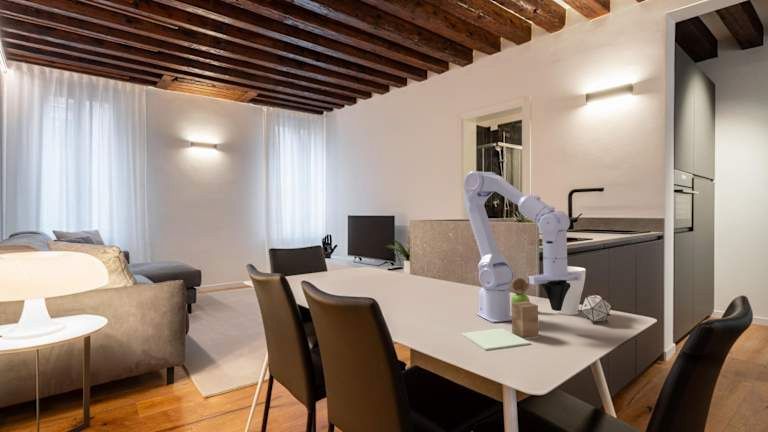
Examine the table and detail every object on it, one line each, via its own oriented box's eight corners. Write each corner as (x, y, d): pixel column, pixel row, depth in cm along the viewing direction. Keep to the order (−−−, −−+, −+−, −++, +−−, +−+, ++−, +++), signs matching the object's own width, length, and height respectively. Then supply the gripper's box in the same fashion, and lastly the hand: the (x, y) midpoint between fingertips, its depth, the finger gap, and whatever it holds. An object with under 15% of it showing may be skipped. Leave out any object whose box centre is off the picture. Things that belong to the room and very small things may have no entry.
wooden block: (512, 333, 99) (511, 302, 99) (527, 331, 101) (526, 301, 100) (522, 339, 95) (522, 307, 95) (538, 337, 96) (537, 305, 96)
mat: (461, 334, 100) (461, 333, 100) (502, 329, 103) (502, 328, 103) (485, 350, 88) (485, 348, 88) (530, 344, 91) (530, 342, 91)
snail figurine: (535, 312, 119) (534, 273, 119) (514, 312, 119) (514, 274, 119) (529, 308, 124) (528, 271, 124) (509, 308, 125) (508, 271, 124)
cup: (569, 318, 111) (568, 272, 111) (541, 310, 121) (540, 267, 120) (594, 314, 115) (593, 269, 115) (565, 306, 125) (564, 265, 125)
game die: (604, 336, 106) (623, 313, 100) (573, 325, 107) (590, 301, 102) (600, 314, 113) (618, 291, 107) (571, 303, 114) (587, 280, 109)
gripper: (541, 261, 94) (542, 316, 94) (589, 257, 98) (591, 310, 98) (523, 258, 101) (525, 309, 101) (569, 255, 105) (571, 304, 105)
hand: (556, 310), depth 100 cm, fingers closed
